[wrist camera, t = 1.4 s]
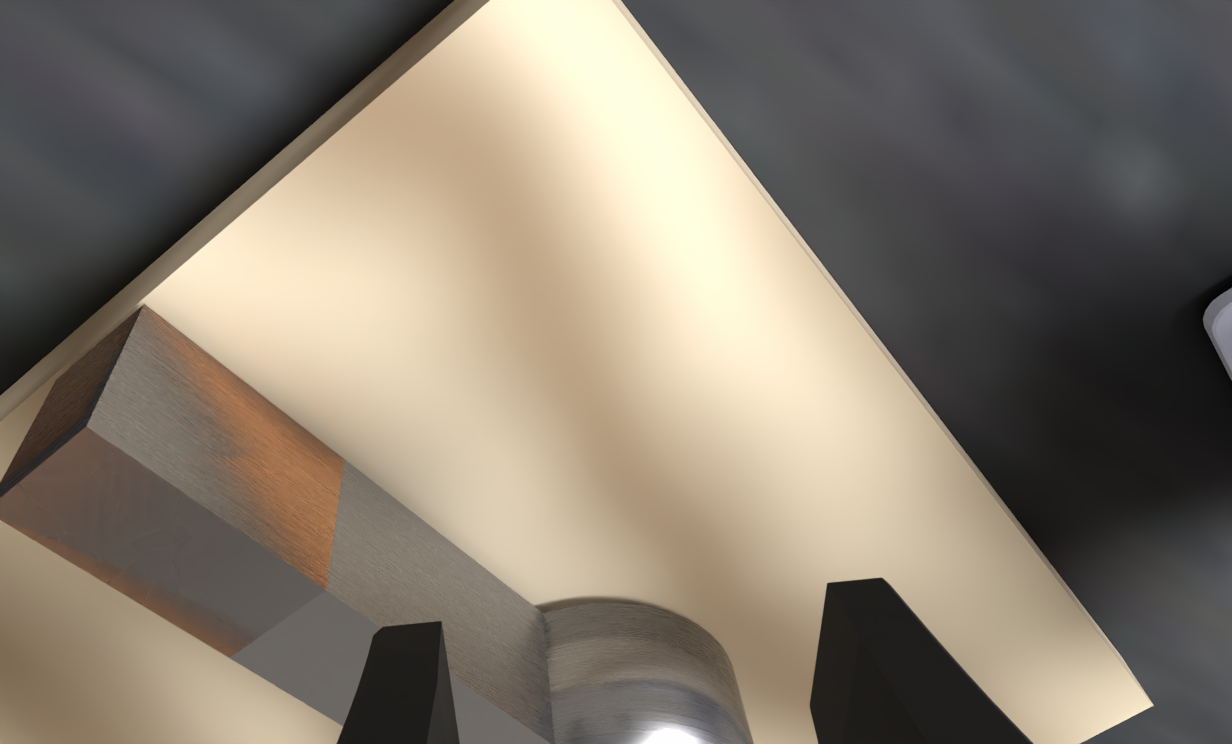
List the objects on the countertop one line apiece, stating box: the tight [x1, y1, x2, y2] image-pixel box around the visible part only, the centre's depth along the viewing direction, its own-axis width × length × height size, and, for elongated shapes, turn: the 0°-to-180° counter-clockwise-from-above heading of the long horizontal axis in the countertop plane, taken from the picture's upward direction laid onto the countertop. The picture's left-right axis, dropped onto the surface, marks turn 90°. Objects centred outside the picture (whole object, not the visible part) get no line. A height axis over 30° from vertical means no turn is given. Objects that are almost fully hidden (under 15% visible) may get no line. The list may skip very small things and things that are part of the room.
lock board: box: [0, 0, 1153, 744], centre depth 23 cm, size 22×22×2 cm
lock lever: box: [0, 304, 754, 744], centre depth 19 cm, size 15×6×3 cm, turn 38°
